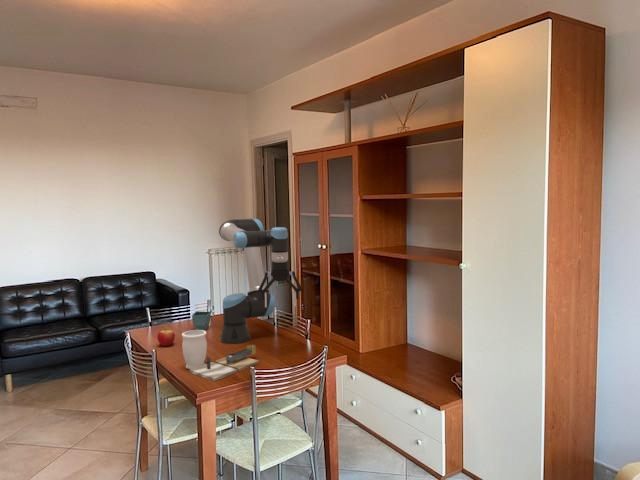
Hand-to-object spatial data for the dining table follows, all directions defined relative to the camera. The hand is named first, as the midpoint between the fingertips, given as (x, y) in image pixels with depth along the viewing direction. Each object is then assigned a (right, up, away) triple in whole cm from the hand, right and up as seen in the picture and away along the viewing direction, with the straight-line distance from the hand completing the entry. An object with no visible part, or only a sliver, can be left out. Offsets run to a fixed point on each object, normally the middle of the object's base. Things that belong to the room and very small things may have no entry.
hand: (280, 306), depth 223 cm
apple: (-59, -22, +18) cm, 65 cm away
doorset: (-22, -24, -16) cm, 37 cm away
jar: (-36, -25, -13) cm, 46 cm away
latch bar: (-17, -21, -9) cm, 29 cm away
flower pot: (-48, -20, +47) cm, 70 cm away
